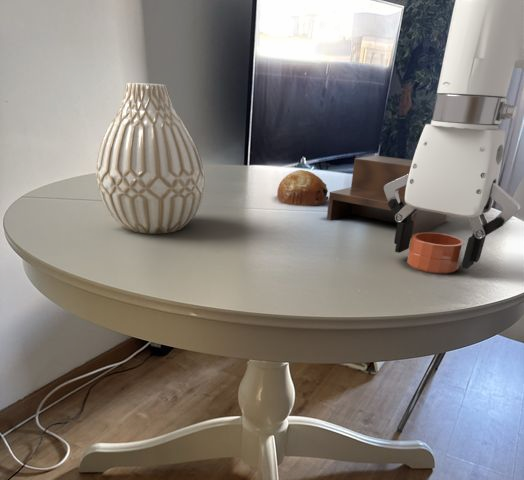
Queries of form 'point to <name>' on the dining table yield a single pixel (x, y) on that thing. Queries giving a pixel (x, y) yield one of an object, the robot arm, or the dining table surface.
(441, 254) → the bowl
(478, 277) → the dining table surface
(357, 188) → the shelf
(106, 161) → the vase
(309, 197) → the bread roll
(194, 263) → the dining table surface
